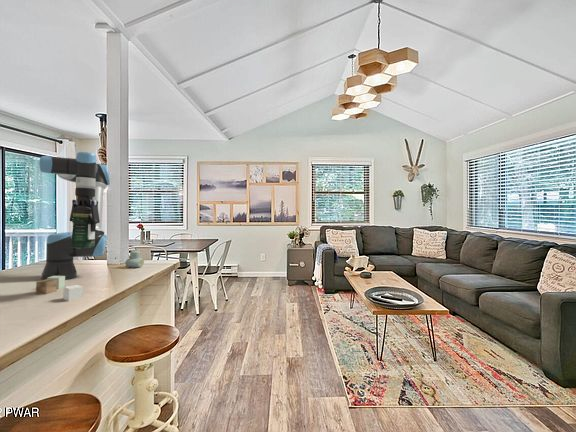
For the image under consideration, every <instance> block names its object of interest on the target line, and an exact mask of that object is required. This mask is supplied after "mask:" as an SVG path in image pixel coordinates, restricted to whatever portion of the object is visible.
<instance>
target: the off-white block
mask: <svg viewBox="0 0 576 432" xmlns="http://www.w3.org/2000/svg"><path fill="white" fill-rule="evenodd" d="M62 295H63V297H62V299H63V300H64V301H68V302H73V301H79V300H83V299H84V297H83V295H84V287H83V286H82V285H80V284H74V285H73V284H72V285H67V286H65V287H63V293H62Z"/></svg>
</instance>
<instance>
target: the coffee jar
mask: <svg viewBox="0 0 576 432" xmlns="http://www.w3.org/2000/svg"><path fill="white" fill-rule="evenodd" d="M90 214H91V208H89V207H86V206H76V207H75V208H73V223H72V231H71V232H72V242H71V247H73V248H90V247H94V246H95V239H88V223H90V222H89V215H90Z"/></svg>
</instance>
